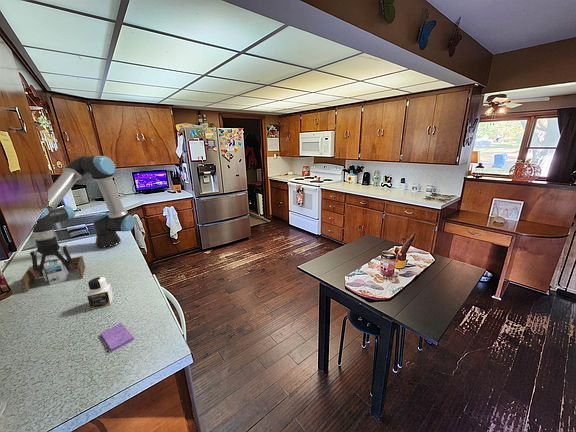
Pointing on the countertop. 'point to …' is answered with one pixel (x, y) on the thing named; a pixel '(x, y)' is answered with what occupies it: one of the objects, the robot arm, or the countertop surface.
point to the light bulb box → (54, 270)
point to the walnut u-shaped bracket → (32, 275)
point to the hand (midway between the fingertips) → (57, 277)
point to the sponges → (117, 336)
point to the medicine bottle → (99, 293)
